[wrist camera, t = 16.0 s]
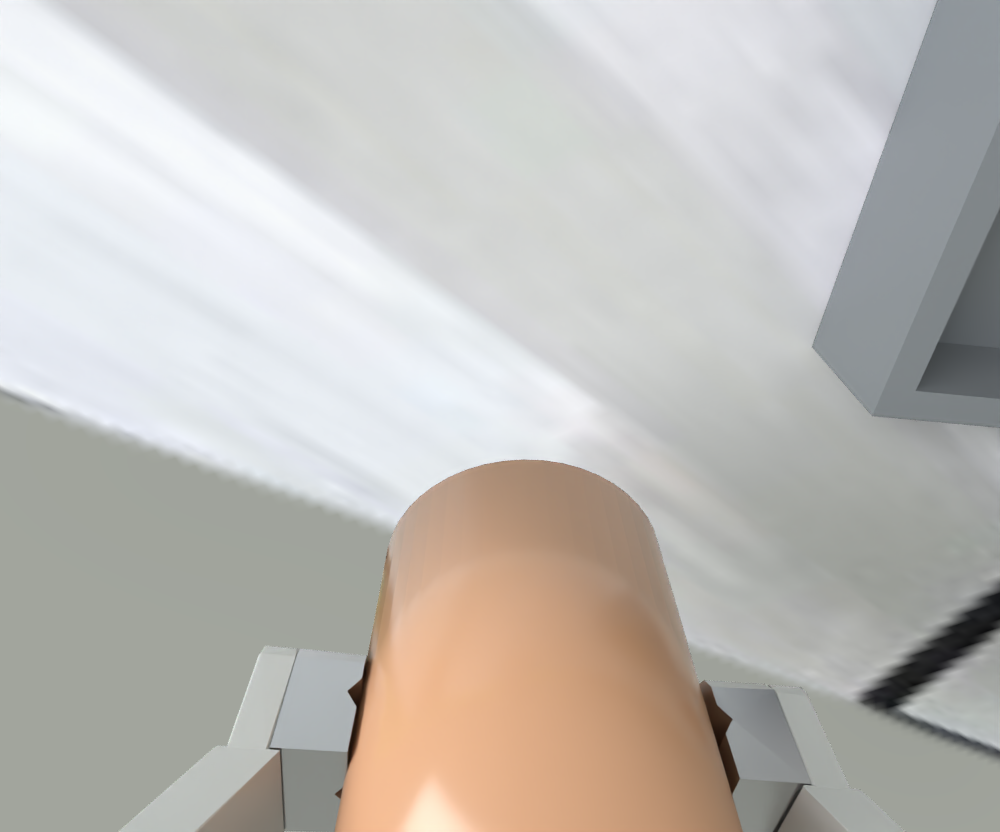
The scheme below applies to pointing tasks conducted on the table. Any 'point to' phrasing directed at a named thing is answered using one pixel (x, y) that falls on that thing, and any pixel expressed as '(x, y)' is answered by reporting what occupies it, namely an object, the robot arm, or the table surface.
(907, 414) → the tote
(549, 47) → the table surface
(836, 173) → the table surface
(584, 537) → the terracotta cylinder
